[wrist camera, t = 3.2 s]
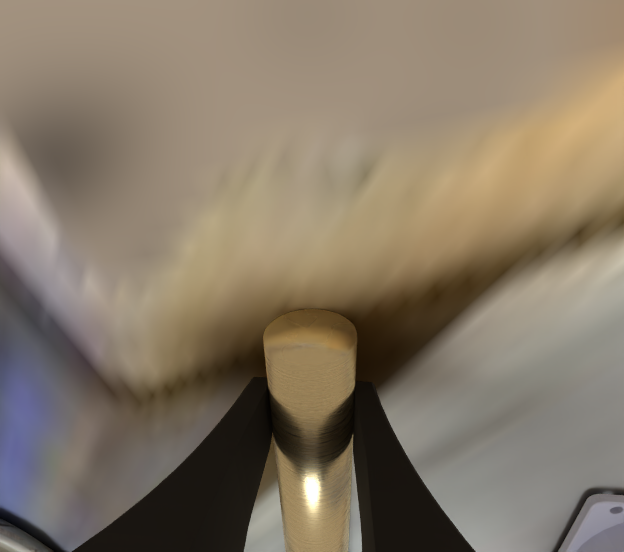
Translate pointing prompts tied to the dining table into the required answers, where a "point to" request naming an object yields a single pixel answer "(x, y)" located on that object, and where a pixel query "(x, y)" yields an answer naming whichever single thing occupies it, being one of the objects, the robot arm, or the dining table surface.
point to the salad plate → (18, 540)
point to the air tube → (312, 424)
